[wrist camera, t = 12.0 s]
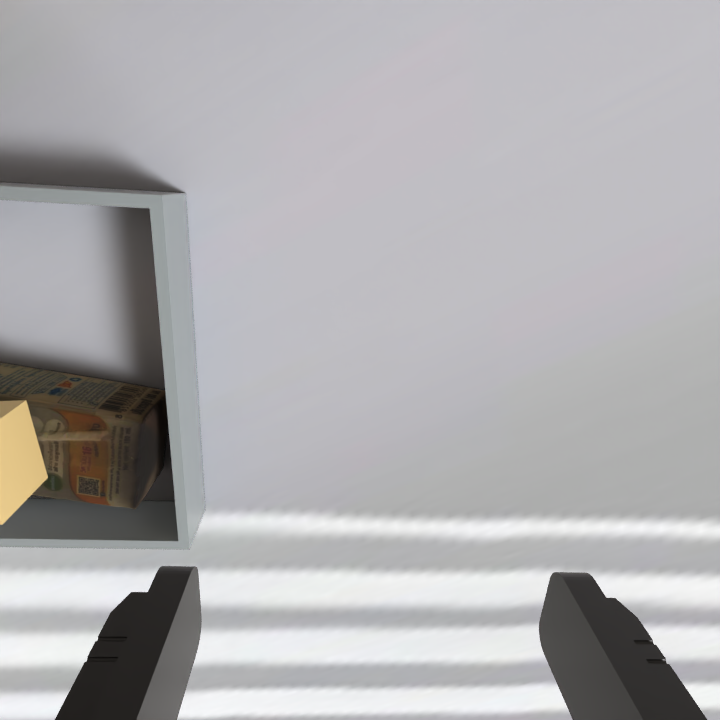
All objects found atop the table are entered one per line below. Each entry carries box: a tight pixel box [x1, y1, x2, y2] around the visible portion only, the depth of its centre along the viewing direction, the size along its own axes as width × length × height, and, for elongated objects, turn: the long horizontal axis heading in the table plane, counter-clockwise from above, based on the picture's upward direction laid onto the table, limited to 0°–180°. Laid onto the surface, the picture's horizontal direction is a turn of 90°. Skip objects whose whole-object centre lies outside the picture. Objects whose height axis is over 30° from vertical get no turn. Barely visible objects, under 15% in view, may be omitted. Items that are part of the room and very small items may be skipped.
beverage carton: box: [0, 362, 168, 509], centre depth 37 cm, size 8×19×7 cm, turn 78°
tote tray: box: [0, 182, 205, 550], centre depth 36 cm, size 27×23×5 cm
